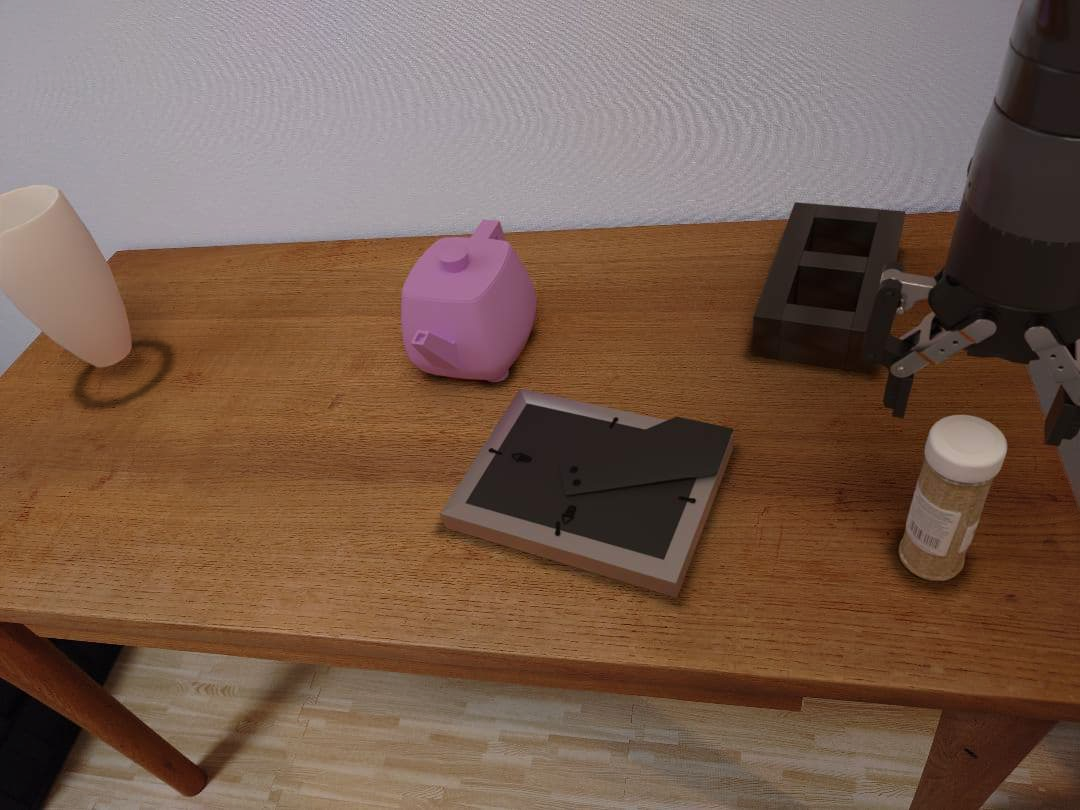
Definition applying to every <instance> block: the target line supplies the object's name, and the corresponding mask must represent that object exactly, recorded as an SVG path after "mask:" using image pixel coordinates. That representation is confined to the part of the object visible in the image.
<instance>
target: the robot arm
mask: <svg viewBox="0 0 1080 810" xmlns="http://www.w3.org/2000/svg"><path fill="white" fill-rule="evenodd" d="M1012 25H1013V26H1012V29H1011V33H1010V37H1009V40H1008V42H1007V47H1006V50H1005V54H1004V58H1003V61H1002V65H1001V69H1000V73H999V77H998V80H997V85H996V89H995V92H994V96H993V100H992V103H991V105H990V108H989V111H988V114H987V115H986V117H985V119H984V123H983V125H982V127H981V130H980V132H979V135H978V137H977V141H976V144H975V147H974V151H973V155H972V156H971V158H970V160H969V163H968V166H967V169H966V181H965V185H964V190H963V194H962V197H961V201H960V205H959V209H958V213H957V217H956V222H955V225H954V229H953V233H952V237H951V241H950V244H949V248H948V251H947V256H946V260H945V263H944V265H943V266H942V268H941V269H940V270H939V271H938V272H937V273H936V274H935V275H934V276H933V277H932V276H927V275H920V274H915V273H908V272H906V266H905V265H904V264H903V263H902V262H900V261H898V260H896V261H891V262H888V263H886V264H885V265H884V267H883V270H882V273H881V277H880V281H879V284H878V288H877V292H876V295H875V299H874V303H873V306H872V310H871V314H870V317H869V321H868V325H867V328H866V332H865V337H864V341H863V346H862V351H861V355H860V358H861V360H862V361H863V362H864V363H866V364H869V365H875V366H876V365H878V364H879V365H881V366H883V367H885V368H886V369H887V372H888V374H887V379H886V383H885V388H884V394H883V398H882V403H883V405H884V406H883V407H884V408H885V409H891V410H892V412H891V417H892V418H896V419H902V420H904V419H905V414H906V411H907V408H908V402H909V400H910V395H911V391H912V387H913V384H914V383H913V382H914V380H915V379H914V377H915V373H916V372H918V371H920V370H921V369H924V367H926V366H929V365H930V364H932V365H933V366H935V365H936V366H937V365H939V364H940V363H942V362H944V361H946V360H947V359H950V358H951V357H952V356H954V355H956V354H958V353H960V352H961V351H962V350H963V351H965V352H966V357H972V358H973V357H974V358H979V359H980V358H981V359H985V358H986V359H987V358H988V359H991V358H999V359H1002V360H1005V361H1007V362H1011V363H1014V364H1022V365H1030V362H1031V361H1032V362H1033V361H1038V360H1041V362H1042V364H1043V365H1044V366H1045V368H1046V370H1047V371H1048V372H1049V374H1050V375H1051V377H1052V378H1053V380H1054V381H1055V383H1056V384H1060V385H1059V387H1058V390H1057V392H1056V394H1055V396H1054V399H1053V401H1052V403H1051V406H1050V408H1049V410H1048V412H1047V415H1046V418H1045V421H1044V427H1043V428H1044V429H1043V430H1044V431H1043V432H1044V434H1043V435H1044V436H1043V443H1044V445H1047V446H1052V447H1058V448H1059V447H1060V445H1061V444H1062V441H1063V440H1066V441H1067V440H1068V441H1072V440H1073V439H1074V438H1075V437H1077V436H1078V434H1079V433H1080V0H1021V1H1020V4H1019V7H1018V9H1017V12H1016V16H1015V19H1014V23H1013V24H1012ZM923 300H924V301H927V303H928V307H929V308H930V309H931V312H929V313H928V314H926V316H924V318H923V319H922V321H921V322H920V323H919V324H918V325H917V326H916V327H914V328H913V329H910V330H909V331H908V332H906V333H905V334H903V335H902V336H900V337H897V336H894V335H891V334H890V333H891V329H892V326H893V324H894V323H893V322H894V320H895V316H896V315H904V314H905V313H906V312H908V311H910V309H912V307H913V306H914V304H915V303H917V302H919V301H923Z"/></svg>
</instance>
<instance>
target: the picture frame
mask: <svg viewBox="0 0 1080 810" xmlns="http://www.w3.org/2000/svg"><path fill="white" fill-rule="evenodd" d="M733 432H734V428H733V427H730V426H729V427H728V426H724V425H718V424H714V423H709V422H705V421H700V420H696V419H690V418H686V417H681V416H674V417H671V418H669V419H663V418H658V417H654V416H649V415H646V414H641V413H635V412H631V411H627V410H622V409H618V408H617V409H616V408H611V407H607V406H603V405H598V404H593V403H590V402H589V403H588V402H584V401H581V400H580V401H579V400H574V399H570V398H565V397H560V396H556V395H551V394H547V393H543V392H542V393H541V392H537V391H532V390H528V389H524V388H519V389H518V391H517V392H516V393H515V394H514V397H513V399H512V400H511V402H509V404H508V406H507V408H506V410H505V411H504V412H503V414H502V415H501V417H500V419H499V420H498V421H497V423H496V425H495V426H494V428H493V429H492V431H491V433H490V434H489V436H488V437H487V438H486V440H485V442H484V444H483V445H482V447H481V449H480V450H479V451H478V453H477V455H476V456H475V458H474V459H473V461H472V462H471V464H470V466H469V467H468V469H467V470H466V472H465V474H464V475H463V477H462V478H461V480H460V482H459V483H458V484H457V486H456V488H455V489H454V491H453V493H452V494H451V495H450V497H449V498H448V500H447V502H446V504H445V505H444V507H443V508H442V509H441V511H440V513H439V514H440V518H441V520H442V522H443V526H444V527H445V528H446V529H448V530H452V531H453V532H454V531H455V532H458V533H461V534H465V535H468V536H471V537H475V538H477V539H480V540H484V541H488V542H491V543H493V544H497V545H500V546H504V547H508V548H511V549H514V550H517V551H519V552H523V553H527V554H530V555H533V556H536V557H540V558H543V559H546V560H550V561H553V562H557V563H560V564H562V565H567V566H570V567H573V568H576V569H579V570H583V571H586V572H590V573H592V574H596V575H599V576H602V577H606V578H608V579H613V580H616V581H619V582H622V583H626V584H629V585H632V586H636V587H637V588H638V587H639V588H643V589H646V590H648V591H651V592H655V593H659V594H662V595H665V596H669V597H672V598H675V599H678V597H679V594H680V592H681V589H682V587H683V584H684V581H685V578H686V576H687V573H688V570H689V568H690V565H691V562H692V559H693V557H694V554H695V552H696V549H697V546H698V543H699V541H700V538H701V535H702V533H703V530H704V528H705V524H706V522H707V519H708V517H709V514H710V511H711V510H712V506H713V504H714V501H715V498H716V496H717V494H718V490H719V487H720V485H721V483H722V480H723V477H724V474H725V472H726V469H727V466H728V463H729V462H730V458H731V456H732V454H733V453H732V452H733V449H734V434H733Z"/></svg>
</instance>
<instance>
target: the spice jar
mask: <svg viewBox="0 0 1080 810" xmlns="http://www.w3.org/2000/svg"><path fill="white" fill-rule="evenodd" d="M1007 452H1008V441H1007V439H1006V437H1005V435H1004V433H1003V431H1001V430H1000V429H999V427H997V426H996V425H994V424H993V423H991V421H988V420H985V419H983V418H981V417H978V416H974V415H969V414H952V415H948V416H945V417H943V418H941V419H939V420H937V421H936V422H935V423H934V424H933V425H932V426H931V428H930V430H929V432H928V435H927V438H926V441H925V446H924V460H923V463H922V467H921V470H920V474H919V475H918V478H917V482H916V485H915V489H914V492H913V496H912V499H911V503H910V507H909V511H908V514H907V518H906V522H905V529H904V533H903V537H902V539H900V542H899V546H898V555H899V559H900V562H901V563H902V564H903V566H904V567H905V568H906V569H907V570H909V572H910V573H912V574H913V575H915V576H917V577H919V578H921V579H924V580H927V581H933V582H945V581H948V580H951V579H953V578H955V577H956V576H957V575H959V573H960V572H962V571H963V569H964V567H965V566H964V565H965V561H966V554H967V552H968V549H969V547H970V546H971V544H972V541H973V538H974V536H975V534H976V531H977V528H978V525H979V522H980V519H981V515H982V513H983V510H984V507H985V503H986V499H987V497H988V495H989V492H990V488H991V486H992V483H993V480H994V479H995V477H996V476H997V475H998V474H999V473H1000V471H1001V469H1002V467H1003V464H1004V462H1005V459H1006V456H1007Z"/></svg>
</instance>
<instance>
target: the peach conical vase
mask: <svg viewBox="0 0 1080 810" xmlns="http://www.w3.org/2000/svg"><path fill="white" fill-rule="evenodd" d="M0 291H1V292H2V293H3V294H4V295H5V296H6V298H7V299H8V300H9V301H10V302H11V303H12V304H13V306H14V307H15V308H16V309H17V310H18V312H19V313H20V314H21V315H22V316H24V318H26V319H27V320H29V321H30V322H31V323H32V324H34V326H35V327H37V328H38V329H39V330H40V331H42V332H43V333H44V334H45V335H46V336H47V337H48V338H49V339H51V340H52V341H53V342H55V343H56V344H58V345H59V346H60V347H62V348H63V349H65V350H67V351H68V352H69V353H70V354H73V355H74V356H76V357H77V358H79V359H81V360H82V361H84V362H86V363H88V364H90V365H92V366H94V367H96V368H107V367H110V366H113V365H115V364H117V363H120V362H121V361H122V360H124V359H125V358H126V357H127V356H128V355H129V354H130V353H131V350H132V349H133V348H132V347H133V345H132V344H133V343H132V334H131V328H130V323H129V320H128V315H127V311H126V307H125V304H124V301H123V298H122V296H121V293H120V290H119V288H118V285H117V282H116V280H115V277H114V275H113V272H112V269H111V267H110V265H109V263H108V261H107V259H106V257H105V256H104V254H103V253H102V251H101V249H100V247H99V246H98V244H97V243H96V240H95V239H94V237H93V236H92V234H91V232H90V229H88V227H87V226H86V224H85V223H84V222H83V220H82V219H81V217H80V216H79V214H78V213H77V212H76V210H75V209H74V207H73V206H72V205H71V203H70V201H69V200H68V198H67V197H66V196H65V194H64V193H63V192H62V190H61V189H59V188H58V187H57V188H56V187H55V186H51V185H50V184H32V185H27V186H23V187H19V188H15V189H12V190H10V191H7V192H4V193H1V194H0Z"/></svg>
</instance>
